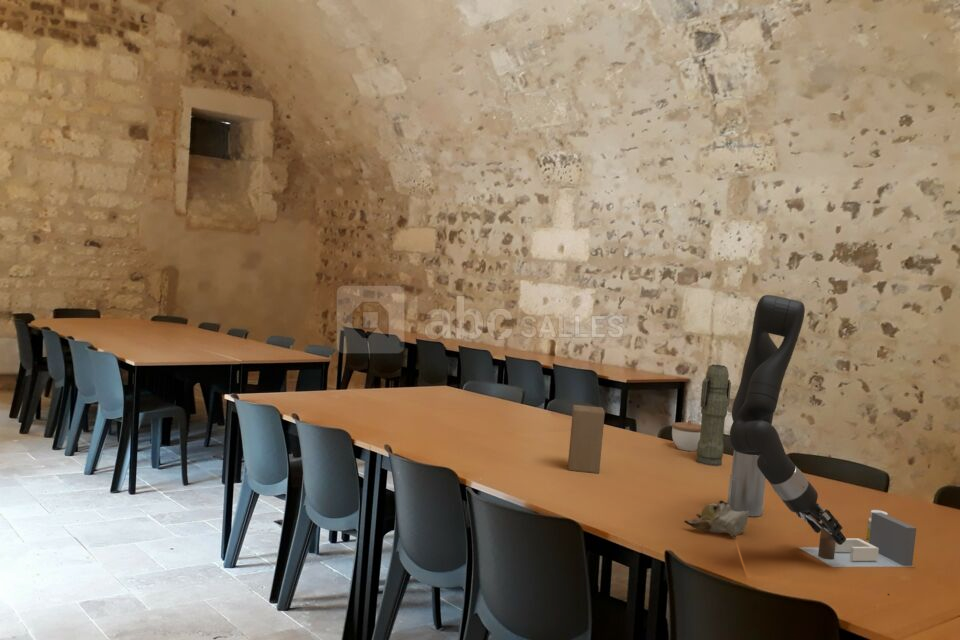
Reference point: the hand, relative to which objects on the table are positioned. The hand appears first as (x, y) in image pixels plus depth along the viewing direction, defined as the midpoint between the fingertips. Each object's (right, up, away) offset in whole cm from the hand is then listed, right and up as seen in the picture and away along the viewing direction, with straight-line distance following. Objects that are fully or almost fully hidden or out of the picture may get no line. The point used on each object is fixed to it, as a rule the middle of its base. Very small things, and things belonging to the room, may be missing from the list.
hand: (830, 536), depth 198 cm
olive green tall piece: (-1, 0, +102) cm, 102 cm away
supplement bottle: (+19, -7, +18) cm, 27 cm away
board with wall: (+7, -7, +2) cm, 10 cm away
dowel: (-1, -5, 0) cm, 5 cm away
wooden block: (-49, +2, +77) cm, 91 cm away
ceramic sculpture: (-22, -4, +17) cm, 28 cm away
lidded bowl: (-4, +1, +124) cm, 124 cm away
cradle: (+7, -5, +2) cm, 9 cm away
